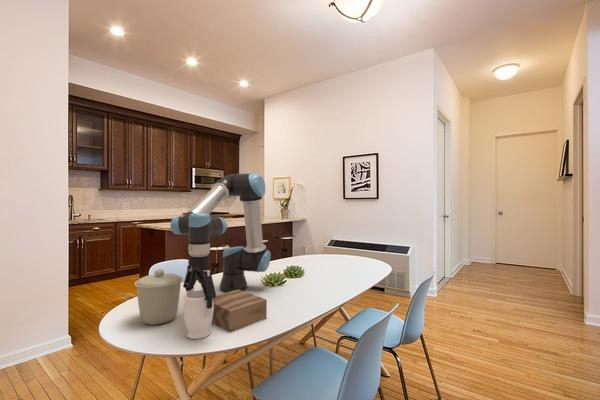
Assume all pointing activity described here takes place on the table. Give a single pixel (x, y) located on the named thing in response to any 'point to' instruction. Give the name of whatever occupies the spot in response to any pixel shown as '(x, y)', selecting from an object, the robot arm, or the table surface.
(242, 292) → the walnut box
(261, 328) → the table surface
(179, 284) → the canister
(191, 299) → the jar
